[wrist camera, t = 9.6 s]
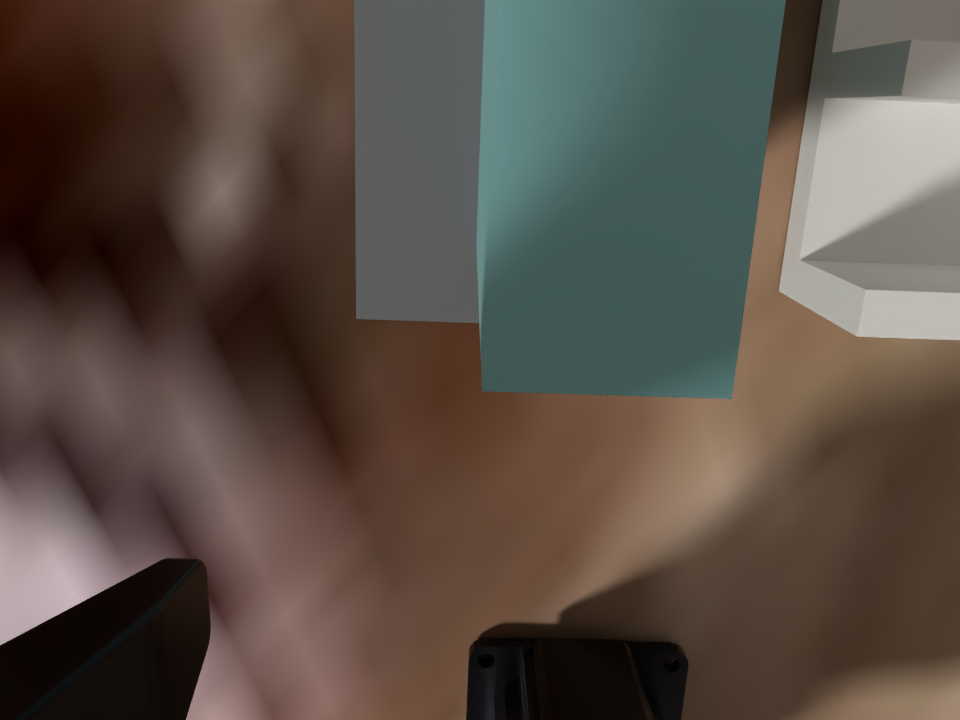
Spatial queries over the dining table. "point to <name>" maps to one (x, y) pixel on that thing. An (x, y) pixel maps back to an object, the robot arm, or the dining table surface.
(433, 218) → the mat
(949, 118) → the rack
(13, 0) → the dining table surface
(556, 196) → the teal flat block
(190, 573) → the robot arm
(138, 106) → the dining table surface
